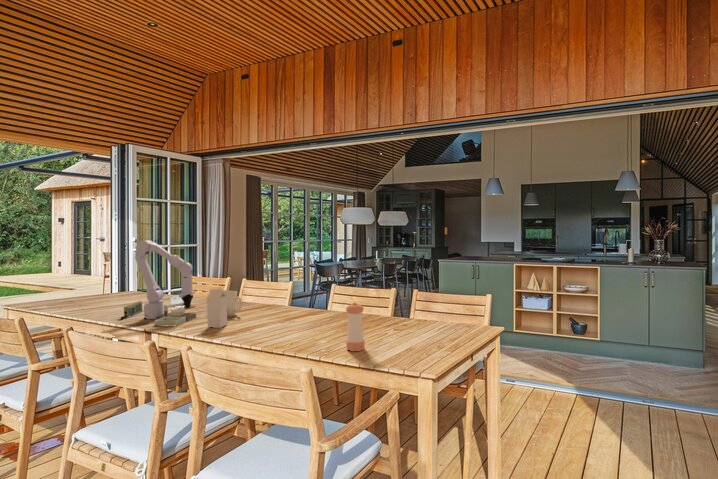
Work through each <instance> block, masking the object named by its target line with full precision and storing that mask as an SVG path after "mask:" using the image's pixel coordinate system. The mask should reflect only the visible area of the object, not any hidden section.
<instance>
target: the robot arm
mask: <svg viewBox="0 0 718 479" xmlns="http://www.w3.org/2000/svg"><path fill="white" fill-rule="evenodd" d="M135 249H136V250H135V256H134V259H135V262H136V264H137V267H138V269H139V271H140V275H141V276H142V278H143V281H144V284H145V286H146V294H147V295H146V299H147V301H148V302H147V301H146V302H145V303H144V306H143V315H144V316H143V319H144V318H146V319H145V320H150V319H151V320H156V316H159V315H162V314H164V302H163V301H164V300H163V298H164V296H165V292H164V291H163V290H162V288H161V287H160V285H158V284H157V282H156V279H155V277H154V274H153V272H152V269H151V266H150V264H149V262H148V260H147V257H148V255H149V254H150V253H153V252H154V253H156V254H159V256H161V257H163V258H165V259H167V261H168V264H170V265H171V266H173V267H174V268H175V269H177V270H179V272H180V273H181V274H180V278H181V279H180V281H181V282H180V284H181V292H180V293H179V294H178V298H181V299H182V301H183V302H182V303H184V304H185V305H184V308H185V309H190V308H191V304H192V303H191V302H192V300H193V298H194V294H195V293H196V290H195V289H193V276H192V275H193V274H192V271H193V268H194V267H193V264H192V263H190V262H187V260H184V259H182V258H181V257H180V255H178V254H177V255H176V254H171V253H170V252H168V251H167V250H166V249H164V248H163V247H161V245H159V244H158V243H157V242H154V241H153V240H151V239H147V240H140V241H139V242H138V243H137V244H136V246H135Z"/></svg>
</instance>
